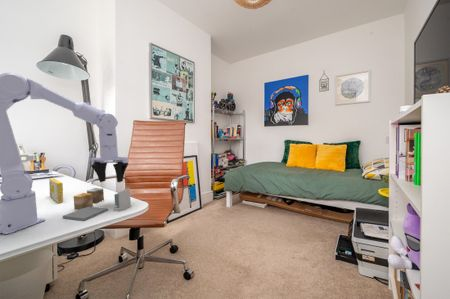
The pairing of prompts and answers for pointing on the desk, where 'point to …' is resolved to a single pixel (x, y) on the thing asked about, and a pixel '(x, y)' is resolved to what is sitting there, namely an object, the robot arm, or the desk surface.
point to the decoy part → (96, 194)
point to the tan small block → (83, 201)
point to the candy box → (56, 190)
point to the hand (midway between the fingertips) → (111, 181)
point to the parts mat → (85, 213)
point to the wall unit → (122, 200)
